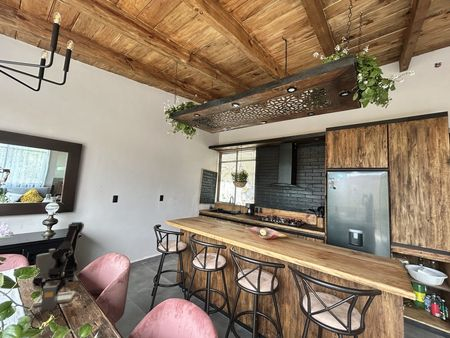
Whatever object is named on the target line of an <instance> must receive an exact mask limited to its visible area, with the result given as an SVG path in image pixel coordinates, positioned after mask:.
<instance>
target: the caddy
mask: <svg viewBox="0 0 450 338" xmlns="http://www.w3.org/2000/svg"><path fill="white" fill-rule="evenodd" d="M59 284H60V281H53V282H47V283H46V285H45V286H44V287H43V295H42V294H41V295H42V303H41V306H40V312H43V311H51V310H54V309H55V308H56V306H57V304H58V303H57V298H58V294H57V296H56V292H57V289H58V287H59Z"/></svg>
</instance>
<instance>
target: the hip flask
mask: <svg viewBox="0 0 450 338" xmlns="http://www.w3.org/2000/svg"><path fill="white" fill-rule="evenodd" d="M55 251H56V248H50V249H48V252H46V253H45V252H44V253H39V254H37V255H36V258H35V266H34V268H35V267H36V268H39V269H40V273H39V274H38V275H37V276H36V277H42V276H43V277H44V278H50V277H48V276H49V275H48V271H49V269H52V268H53V267H54V264H55V263H54V261H53V259H52V254H53V253H54V252H55ZM62 277H64V274H63V275H62ZM34 278H35V277H34V276H33V279H34Z"/></svg>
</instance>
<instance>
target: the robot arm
mask: <svg viewBox="0 0 450 338" xmlns="http://www.w3.org/2000/svg"><path fill="white" fill-rule="evenodd" d="M84 227H85V223H83V222H82V221H77V222H75V221H74V222H73V221H72V222H71V223H69V224H68V228H67V233H66V235H65V238H64V241H63V243H62V244H60V245H59V246H58V249H57V250H55V252H54V253H53V254H52V259H53V261H54V263H55V264H54V267H53V268H52V269H49V271H48V275H49V276H48V277H50V278H44V277H43V276H42V277H35V278H34V277H33V280H32V284H33V286H34V287H41V292H42V291H43V287H44V286H45V285H46V283H47V282H56V281H60V283H59V287H58V289H57V292H56V296H57V294H58V293H61V290H62V289H63V288H64V287H65V286H66V285H68V284H69V283H74V282H76V274H75V272H76V271H78V270H79V263H78V259H77V257H76V252H77V246H78V242H79V237H80V234H81V233H82V231H83V229H84ZM62 275H63V276H62Z"/></svg>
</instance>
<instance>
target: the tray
mask: <svg viewBox="0 0 450 338" xmlns="http://www.w3.org/2000/svg"><path fill="white" fill-rule="evenodd" d="M75 295H76V290H72V291H66V292H64V291H63V292H59V293H58V298H57V304H60V303H61V304H62V303H67V302H69V303H70V302H72V300H73V298H74V296H75ZM40 296H41V295H40ZM40 296H39V297H38V298H37V299H36V300H35V301H34V302H33V307H41V303H42V296H41V297H40Z"/></svg>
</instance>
